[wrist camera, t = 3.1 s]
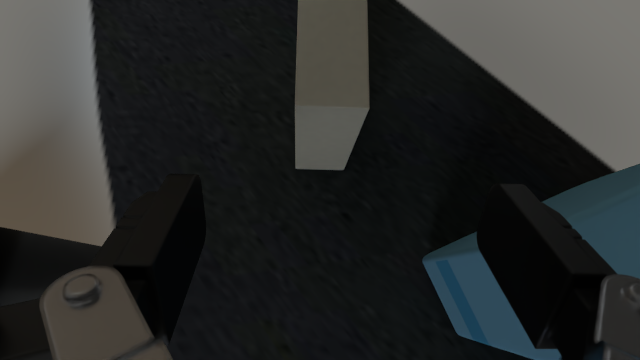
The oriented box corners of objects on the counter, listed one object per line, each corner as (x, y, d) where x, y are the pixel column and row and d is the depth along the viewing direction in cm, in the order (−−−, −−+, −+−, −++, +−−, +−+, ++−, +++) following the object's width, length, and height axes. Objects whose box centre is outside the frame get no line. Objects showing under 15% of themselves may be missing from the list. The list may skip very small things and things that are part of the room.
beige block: (295, 169, 24) (295, 105, 16) (297, 81, 26) (298, -22, 17) (344, 170, 25) (369, 108, 16) (343, 82, 26) (367, -18, 17)
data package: (448, 334, 23) (610, 389, 11) (413, 260, 23) (527, 237, 12) (618, 250, 24) (912, 220, 13) (579, 184, 25) (819, 100, 14)
